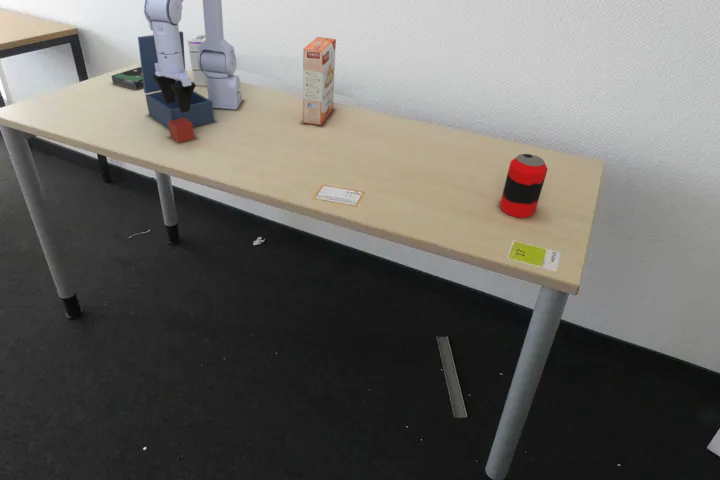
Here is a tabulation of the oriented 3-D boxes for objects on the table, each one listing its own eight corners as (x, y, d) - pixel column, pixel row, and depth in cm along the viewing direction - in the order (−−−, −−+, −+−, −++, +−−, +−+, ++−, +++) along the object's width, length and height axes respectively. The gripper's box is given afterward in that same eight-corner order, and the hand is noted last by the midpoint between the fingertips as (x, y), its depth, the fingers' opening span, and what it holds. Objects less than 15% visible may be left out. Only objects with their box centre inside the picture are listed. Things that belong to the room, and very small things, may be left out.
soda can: (528, 201, 115) (542, 152, 109) (539, 219, 109) (554, 169, 102) (495, 200, 115) (507, 151, 108) (504, 218, 109) (517, 167, 102)
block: (194, 138, 133) (192, 122, 130) (178, 143, 130) (176, 126, 128) (186, 133, 135) (183, 117, 133) (170, 137, 133) (168, 121, 130)
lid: (183, 32, 137) (181, 31, 137) (139, 38, 130) (137, 36, 130) (186, 85, 147) (184, 84, 147) (145, 93, 140) (144, 92, 140)
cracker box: (322, 126, 144) (323, 50, 132) (302, 123, 145) (301, 47, 133) (334, 109, 155) (336, 38, 143) (315, 107, 156) (316, 35, 144)
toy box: (214, 121, 143) (212, 101, 139) (173, 132, 135) (170, 110, 132) (188, 106, 151) (185, 86, 147) (149, 115, 144) (145, 94, 140)
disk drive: (147, 73, 174) (112, 84, 163) (145, 64, 173) (110, 75, 161) (170, 78, 171) (136, 90, 159) (169, 70, 169) (134, 81, 158)
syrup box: (211, 86, 166) (206, 40, 158) (193, 85, 166) (187, 39, 158) (215, 80, 171) (211, 35, 163) (198, 79, 171) (192, 34, 163)
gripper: (139, 46, 122) (149, 101, 130) (167, 61, 114) (176, 119, 121) (166, 42, 126) (175, 96, 134) (196, 56, 118) (203, 113, 126)
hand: (177, 106), depth 128 cm, fingers open, 7 cm apart
